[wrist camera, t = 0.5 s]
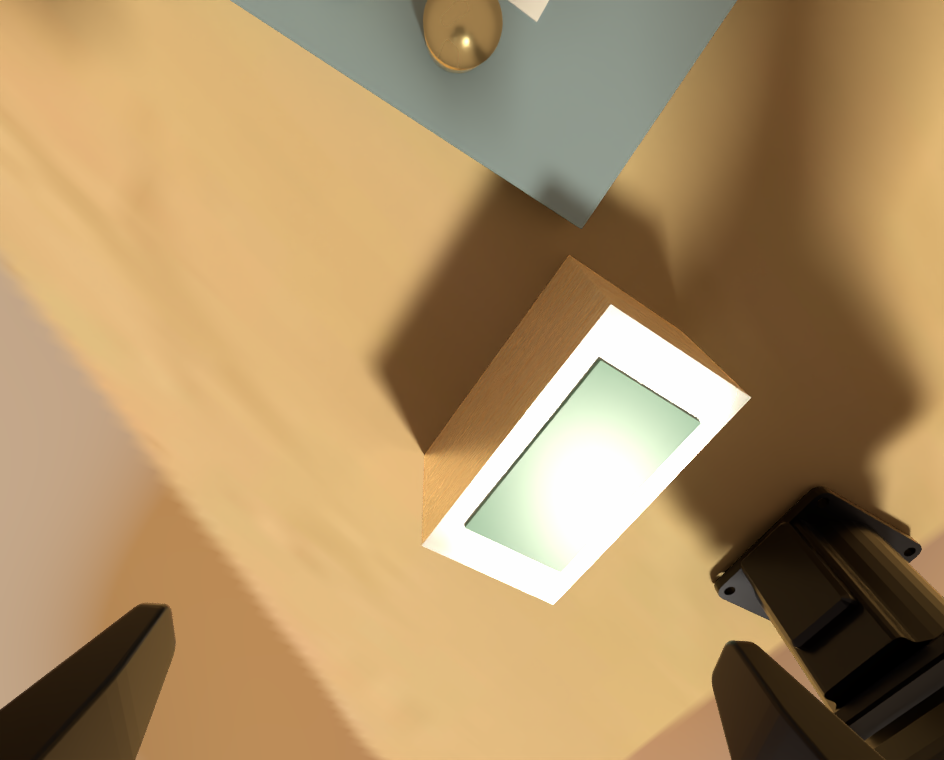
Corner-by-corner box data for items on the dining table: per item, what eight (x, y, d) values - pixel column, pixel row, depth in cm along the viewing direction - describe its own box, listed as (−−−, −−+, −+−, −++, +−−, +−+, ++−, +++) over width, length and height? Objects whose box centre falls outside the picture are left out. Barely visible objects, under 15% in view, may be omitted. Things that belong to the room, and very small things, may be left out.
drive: (680, 329, 20) (752, 399, 15) (530, 505, 23) (553, 606, 18) (568, 253, 18) (611, 305, 14) (424, 452, 22) (421, 547, 17)
